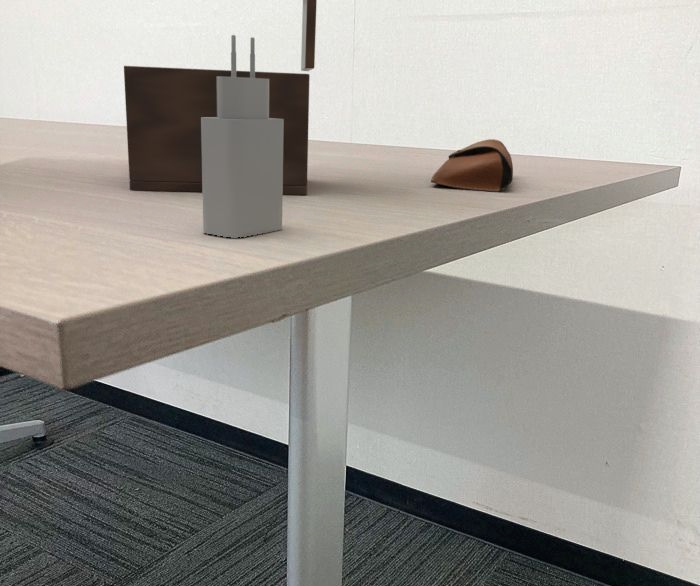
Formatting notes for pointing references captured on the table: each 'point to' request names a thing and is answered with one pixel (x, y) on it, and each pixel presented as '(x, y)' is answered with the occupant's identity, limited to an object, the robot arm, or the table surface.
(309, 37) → the lid
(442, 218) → the table surface
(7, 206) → the table surface
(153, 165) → the chest
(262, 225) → the power adapter
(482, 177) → the sunglasses case
